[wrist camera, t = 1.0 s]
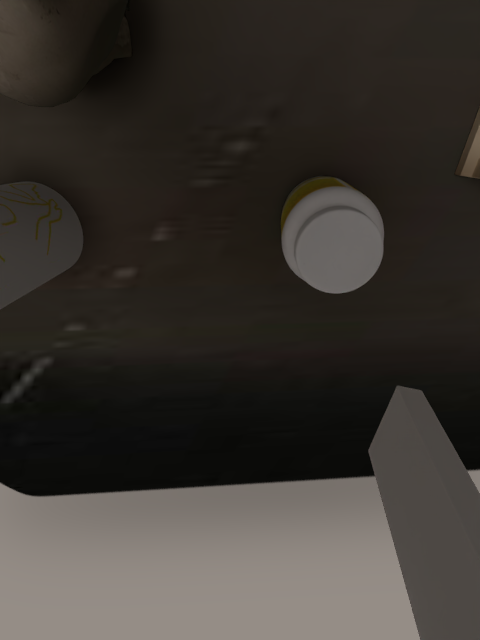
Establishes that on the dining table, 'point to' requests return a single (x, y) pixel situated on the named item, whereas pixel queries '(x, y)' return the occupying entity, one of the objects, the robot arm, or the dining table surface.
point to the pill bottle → (331, 234)
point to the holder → (471, 153)
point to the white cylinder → (34, 238)
